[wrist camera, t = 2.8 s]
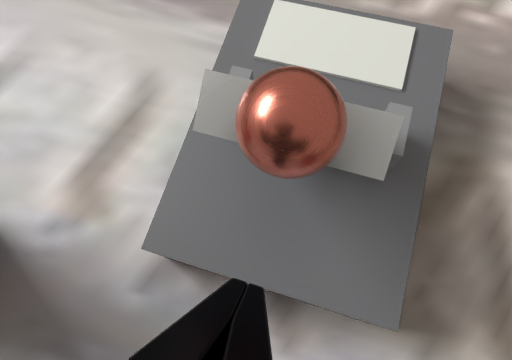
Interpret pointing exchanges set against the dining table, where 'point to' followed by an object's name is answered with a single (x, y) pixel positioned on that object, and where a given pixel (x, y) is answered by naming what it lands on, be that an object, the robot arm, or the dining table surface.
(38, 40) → the dining table surface
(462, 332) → the dining table surface
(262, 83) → the switch lever
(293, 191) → the switch box
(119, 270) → the dining table surface
